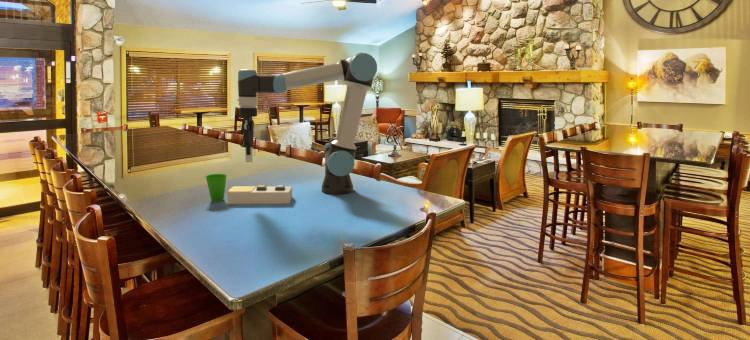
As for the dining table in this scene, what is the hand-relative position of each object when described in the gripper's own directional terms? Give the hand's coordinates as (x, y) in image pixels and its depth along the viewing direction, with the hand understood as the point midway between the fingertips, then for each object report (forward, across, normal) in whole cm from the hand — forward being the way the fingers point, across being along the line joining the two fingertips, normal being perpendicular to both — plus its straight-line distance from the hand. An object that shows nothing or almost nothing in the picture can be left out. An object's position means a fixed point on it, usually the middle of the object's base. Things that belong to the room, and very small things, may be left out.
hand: (249, 161), depth 204 cm
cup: (+18, -1, -14) cm, 23 cm away
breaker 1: (+17, 0, +5) cm, 18 cm away
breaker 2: (+17, 0, +13) cm, 21 cm away
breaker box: (+17, 0, +5) cm, 18 cm away
